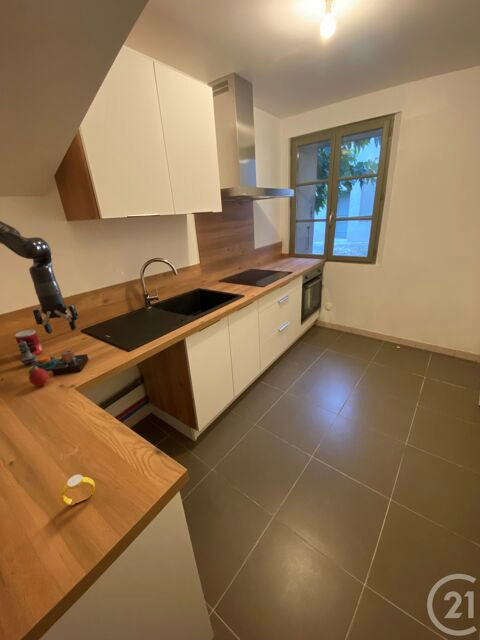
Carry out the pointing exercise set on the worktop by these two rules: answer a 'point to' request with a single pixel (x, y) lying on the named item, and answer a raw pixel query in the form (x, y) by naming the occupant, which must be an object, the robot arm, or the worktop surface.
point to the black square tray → (70, 365)
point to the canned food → (30, 341)
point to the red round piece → (38, 376)
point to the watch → (74, 483)
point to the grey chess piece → (26, 355)
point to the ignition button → (44, 359)
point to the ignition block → (46, 364)
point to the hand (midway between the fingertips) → (62, 331)
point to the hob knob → (68, 356)
